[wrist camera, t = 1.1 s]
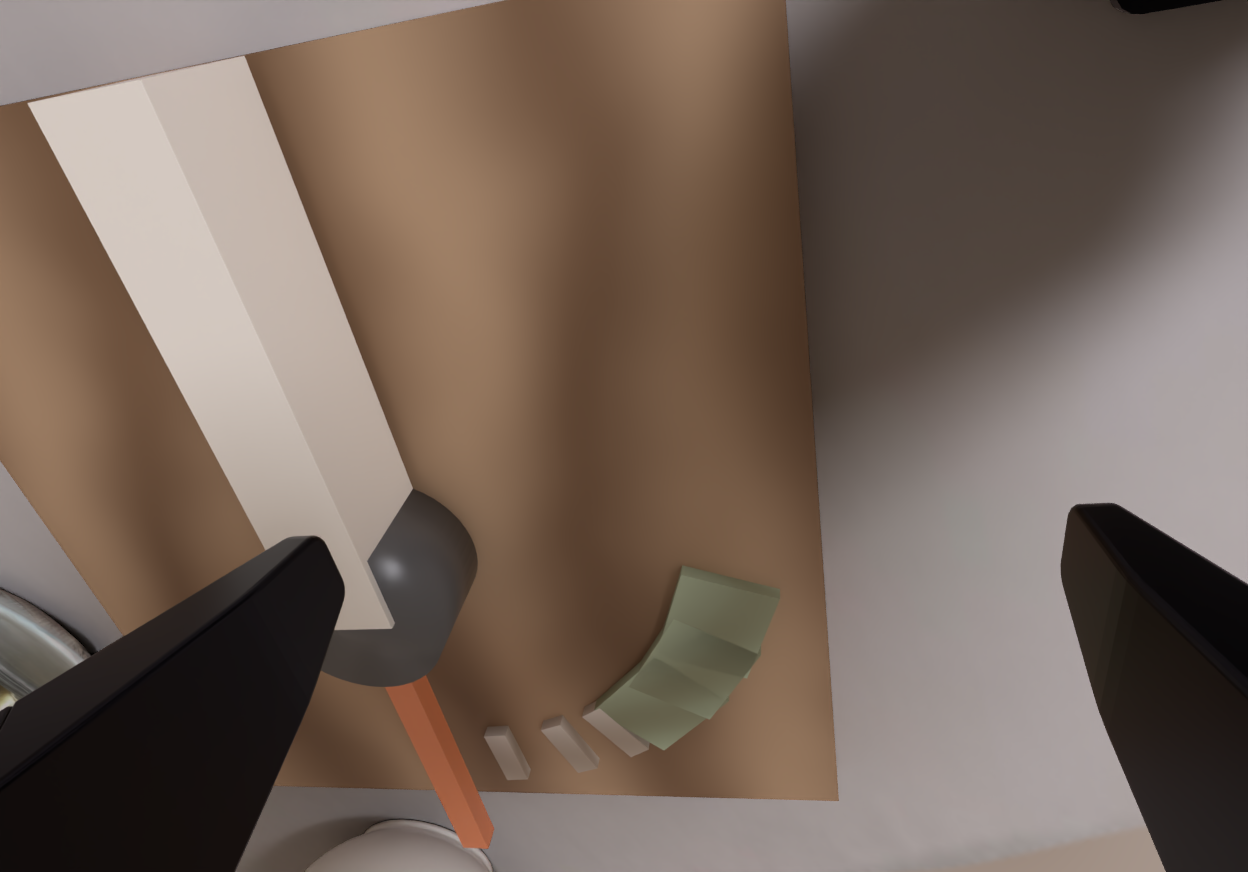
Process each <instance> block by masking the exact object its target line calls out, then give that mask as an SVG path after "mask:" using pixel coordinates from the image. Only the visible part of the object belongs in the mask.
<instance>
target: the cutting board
mask: <svg viewBox="0 0 1248 872" xmlns="http://www.w3.org/2000/svg"><path fill="white" fill-rule="evenodd" d="M241 56H245V58H246V61H247V63H248V66H249V69H250V71H251V74H252V76H253V79H254V81H255V84H256V87H257V89H258V92H259V94H260V97H261V99H262V102H263V105H264V107H265V110H266V112H267V115H268V117H269V120H270V123H271V125H272V128H273V130H274V133H275V135H276V138H277V141H278V143H279V146H280V148H281V151H282V153H283V156H284V159H285V161H286V164H287V166H288V169H289V171H290V174H291V177H292V179H293V182H294V184H295V187H296V189H297V192H298V195H299V197H300V200H301V202H302V205H303V207H304V210H305V212H306V215H307V218H308V220H309V223H310V225H311V228H312V230H313V233H314V236H315V238H316V241H317V243H318V246H319V248H320V251H321V254H322V256H323V259H324V261H325V264H326V266H327V269H328V272H329V274H330V277H331V279H332V282H333V284H334V287H335V290H336V292H337V295H338V297H339V300H340V302H341V305H342V308H343V310H344V313H345V315H346V318H347V320H348V323H349V326H350V328H351V331H352V333H353V336H354V338H355V341H356V344H357V346H358V349H359V351H360V354H361V356H362V359H363V361H364V364H365V367H366V369H367V372H368V374H369V377H370V379H371V382H372V385H373V387H374V390H375V392H376V395H377V397H378V400H379V403H380V405H381V408H382V410H383V413H384V415H385V418H386V421H387V423H388V426H389V428H390V431H391V433H392V436H393V439H394V441H395V444H396V446H397V449H398V451H399V454H400V457H401V459H402V462H403V464H404V467H405V469H406V472H407V475H408V477H409V480H410V482H411V485H412V487H413V489H415V490H417V491H420V492H422V493H424V494H426V495H428V496H430V497H432V498H433V499H435V500H436V501H438V502H439V503H441V504H442V505H444V506H445V507H446V508H447V509H448V510H450V511H451V512H452V513H453V514H454V515H455V516H456V517H457V518H458V519H459V520H460V522H461V523H462V524H463V525H464V527H465V528H466V530H467V531H468V533H469V535H470V536H471V538H472V541H473V543H474V545H475V549H476V553H477V560H478V566H477V573H476V577H475V579H474V582H473V584H472V586H471V588H470V591H469V593H468V595H467V597H466V600H465V602H464V604H463V606H462V609H461V611H460V613H459V615H458V617H457V620H456V622H455V624H454V626H453V629H452V631H451V633H450V635H449V638H448V640H447V642H446V644H445V646H444V649H443V651H442V653H441V655H440V658H439V660H438V662H437V664H436V665H435V666H434V668H433V669H432V670H431V671H430V672H429V673H428V674H427V675H426V677H427V679H428V681H429V683H430V686H431V688H432V690H433V692H434V695H435V697H436V699H437V701H438V704H439V706H440V708H441V710H442V713H443V715H444V717H445V719H446V722H447V724H448V726H449V728H450V731H451V733H452V735H453V737H454V740H455V742H456V744H457V746H458V749H459V751H460V753H461V755H462V758H463V760H464V762H465V764H466V767H467V769H468V771H469V773H470V776H471V778H472V780H473V782H474V785H475V787H476V789H477V791H486V792H523V793H561V794H598V795H636V796H673V797H710V798H748V799H785V800H822V801H839V798H838V783H837V768H836V753H835V738H834V723H833V708H832V692H831V677H830V662H829V647H828V632H827V617H826V602H825V587H824V572H823V557H822V542H821V527H820V512H819V497H818V482H817V467H816V451H815V436H814V421H813V406H812V391H811V376H810V361H809V346H808V331H807V316H806V301H805V286H804V271H803V256H802V241H801V225H800V210H799V195H798V180H797V165H796V150H795V135H794V120H793V105H792V90H791V75H790V60H789V45H788V30H787V15H786V0H504V1H499V2H495V3H490V4H485V5H480V6H475V7H471V8H466V9H461V10H456V11H452V12H447V13H442V14H437V15H432V16H428V17H423V18H418V19H413V20H409V21H404V22H399V23H394V24H389V25H385V26H380V27H375V28H370V29H366V30H361V31H356V32H351V33H346V34H342V35H337V36H332V37H327V38H323V39H318V40H313V41H308V42H304V43H299V44H294V45H289V46H284V47H280V48H275V49H270V50H265V51H261V52H256V53H251V54H246V55H241ZM237 57H240V56H237ZM232 58H236V57H232ZM227 59H231V58H227ZM222 60H226V59H222ZM218 61H221V60H218ZM213 62H216V61H213ZM208 63H212V62H208ZM203 64H207V63H203ZM198 65H202V64H198ZM194 66H197V65H194ZM189 67H193V66H189ZM184 68H188V67H184ZM179 69H183V68H179ZM175 70H178V69H175ZM170 71H173V70H170ZM165 72H169V71H165ZM160 73H164V72H160ZM155 74H159V73H155ZM151 75H154V74H151ZM146 76H149V75H146ZM141 77H145V76H141ZM136 78H140V77H136ZM136 78H132V79H136ZM132 79H127V80H132ZM127 80H122V81H117V82H112V83H108V84H103V85H98V86H93V87H89V88H84V89H79V90H74V91H69V92H65V93H60V94H55V95H50V96H46V97H41V98H36V99H31V100H26V101H22V102H17V103H12V104H7V105H3V106H0V461H1V462H2V464H3V465H4V467H5V468H6V469H7V471H8V472H9V474H10V475H11V477H12V478H13V479H14V481H15V482H16V484H17V485H18V487H19V488H20V489H21V491H22V492H23V494H24V495H25V496H26V498H27V499H28V501H29V502H30V504H31V505H32V506H33V508H34V509H35V511H36V512H37V514H38V515H39V516H40V518H41V519H42V521H43V522H44V524H45V525H46V526H47V528H48V529H49V531H50V532H51V533H52V535H53V536H54V538H55V539H56V541H57V542H58V543H59V545H60V546H61V548H62V549H63V551H64V552H65V553H66V555H67V556H68V558H69V559H70V561H71V562H72V563H73V565H74V566H75V568H76V569H77V571H78V572H79V573H80V575H81V576H82V578H83V579H84V580H85V582H86V583H87V585H88V586H89V588H90V589H91V590H92V592H93V593H94V595H95V596H96V598H97V599H98V600H99V602H100V603H101V605H102V606H103V608H104V609H105V610H106V612H107V613H108V615H109V616H110V617H111V619H112V620H113V622H114V623H115V625H116V626H117V627H118V629H119V630H120V632H121V633H122V635H123V636H125V635H127V634H128V633H130V632H132V631H133V630H135V629H137V628H138V627H140V626H142V625H143V624H145V623H146V622H148V621H150V620H151V619H153V618H155V617H156V616H158V615H160V614H161V613H163V612H165V611H166V610H168V609H170V608H171V607H173V606H175V605H176V604H178V603H180V602H181V601H183V600H185V599H186V598H188V597H189V596H191V595H193V594H194V593H196V592H198V591H199V590H201V589H203V588H204V587H206V586H208V585H209V584H211V583H213V582H214V581H216V580H218V579H219V578H221V577H223V576H224V575H226V574H228V573H229V572H231V571H232V570H234V569H236V568H237V567H239V566H241V565H242V564H244V563H246V562H247V561H249V560H251V559H252V558H254V557H256V556H257V555H259V554H261V553H262V552H264V551H266V550H265V548H264V546H263V545H262V543H261V541H260V539H259V537H258V535H257V533H256V531H255V530H254V528H253V526H252V524H251V522H250V520H249V518H248V516H247V515H246V513H245V511H244V509H243V507H242V505H241V503H240V501H239V500H238V498H237V496H236V494H235V492H234V490H233V488H232V486H231V485H230V483H229V481H228V479H227V477H226V475H225V473H224V471H223V469H222V468H221V466H220V464H219V462H218V460H217V458H216V456H215V454H214V453H213V451H212V449H211V447H210V445H209V443H208V441H207V439H206V438H205V436H204V434H203V432H202V430H201V428H200V426H199V424H198V423H197V421H196V419H195V417H194V415H193V413H192V411H191V409H190V408H189V406H188V404H187V402H186V400H185V398H184V396H183V394H182V393H181V391H180V389H179V387H178V385H177V383H176V381H175V379H174V378H173V376H172V374H171V372H170V370H169V368H168V366H167V364H166V363H165V361H164V359H163V357H162V355H161V353H160V351H159V349H158V348H157V346H156V344H155V342H154V340H153V338H152V336H151V334H150V333H149V331H148V329H147V327H146V325H145V323H144V321H143V319H142V318H141V316H140V314H139V312H138V310H137V308H136V306H135V304H134V303H133V301H132V299H131V297H130V295H129V293H128V291H127V289H126V288H125V286H124V284H123V282H122V280H121V278H120V276H119V274H118V272H117V271H116V269H115V267H114V265H113V263H112V261H111V259H110V257H109V256H108V254H107V252H106V250H105V248H104V246H103V244H102V242H101V241H100V239H99V237H98V235H97V233H96V231H95V229H94V227H93V226H92V224H91V222H90V220H89V218H88V216H87V214H86V212H85V211H84V209H83V207H82V205H81V203H80V201H79V199H78V197H77V196H76V194H75V192H74V190H73V188H72V186H71V184H70V182H69V181H68V179H67V177H66V175H65V173H64V171H63V169H62V167H61V166H60V164H59V162H58V160H57V158H56V156H55V154H54V152H53V151H52V149H51V147H50V145H49V143H48V141H47V139H46V137H45V136H44V134H43V132H42V130H41V128H40V126H39V124H38V122H37V121H36V119H35V117H34V115H33V113H32V111H31V109H30V107H29V106H28V104H27V103H30V102H35V101H39V100H43V99H48V98H52V97H57V96H61V95H65V94H70V93H74V92H79V91H83V90H87V89H92V88H96V87H101V86H105V85H110V84H114V83H118V82H123V81H127ZM273 786H299V787H337V788H374V789H411V790H435V789H434V787H433V784H432V782H431V780H430V778H429V776H428V774H427V772H426V770H425V768H424V766H423V764H422V762H421V760H420V758H419V756H418V754H417V752H416V750H415V748H414V746H413V744H412V742H411V739H410V737H409V735H408V733H407V731H406V729H405V727H404V725H403V723H402V721H401V719H400V717H399V715H398V713H397V711H396V709H395V707H394V705H393V703H392V701H391V699H390V697H389V694H388V692H387V690H386V688H385V687H373V686H365V685H360V684H355V683H351V682H348V681H345V680H341V679H339V678H336V677H334V676H331V675H329V674H327V673H325V672H323V671H321V672H320V675H319V678H318V681H317V684H316V687H315V689H314V692H313V695H312V698H311V701H310V703H309V706H308V708H307V710H306V713H305V715H304V718H303V720H302V722H301V725H300V727H299V729H298V731H297V734H296V736H295V738H294V740H293V743H292V745H291V747H290V749H289V752H288V754H287V756H286V758H285V761H284V763H283V765H282V767H281V770H280V772H279V774H278V776H277V779H276V781H275V783H274V785H273Z"/></svg>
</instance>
